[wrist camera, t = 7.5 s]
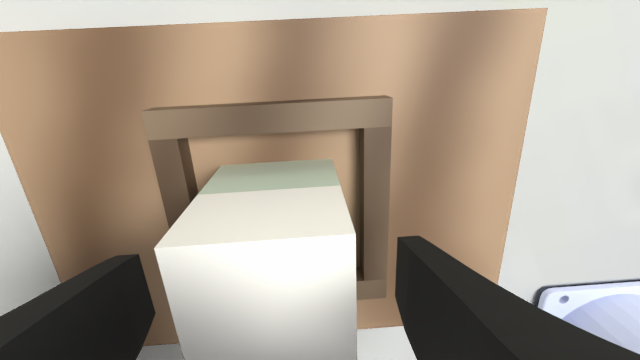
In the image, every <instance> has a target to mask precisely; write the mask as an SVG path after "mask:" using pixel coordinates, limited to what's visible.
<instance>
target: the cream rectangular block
mask: <svg viewBox="0 0 640 360" xmlns="http://www.w3.org/2000/svg"><path fill="white" fill-rule="evenodd" d="M154 250H155V254H156V258H157V261H158V265H159V269H160V273H161V276H162V280H163V284H164V287H165V291H166V295H167V298H168V302H169V306H170V310H171V313H172V317H173V321H174V324H175V328H176V332H177V335H178V339H179V343H180V347H181V350H182V354H183V358H184V360H357V300H356V233H355V230H354V227H353V224H352V221H351V218H350V214H349V211H348V208H347V205H346V202H345V198H344V195H343V192H342V189H341V186H340V183H339V179H338V176H337V173H336V170H335V167H334V163H333V160H332V158H331V159H315V160H299V161H283V162H267V163H251V164H235V165H221V166H220V167H219V169H218V170H217V171H216V172H215V174H214V175H213V176H212V177H211V179H210V180H209V181H208V182H207V184H206V185H205V186H204V187H203V188H202V190H201V191H200V192H199V193H198V195H197V196H196V197H195V198H194V200H193V201H192V202H191V203H190V205H189V206H188V207H187V208H186V209H185V211H184V212H183V213H182V214H181V216H180V217H179V218H178V219H177V221H176V222H175V223H174V224H173V226H172V227H171V228H170V229H169V230H168V232H167V233H166V234H165V235H164V237H163V238H162V239H161V240H160V242H159V243H158V244H157V245H156V247H155V248H154Z"/></svg>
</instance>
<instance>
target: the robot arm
mask: <svg viewBox="0 0 640 360" xmlns="http://www.w3.org/2000/svg"><path fill="white" fill-rule="evenodd" d="M395 298H396V302H397V305H398V309H399V313H400V316H401V319H402V323H403V326H404V329H405V332H406V334H407V337H408V339H409V342H410V344H411V346H412V349H413V351H414V353H415V356H416V358H417V360H640V281H638V282H624V283H611V284H598V285H584V286H571V287H557V288H549V289H546V290H544V291H543V292H542V294H541V296H540V300H539V304H538V307H536V306H534V305H533V304H531V303H529V302H527V301H525V300H523V299H521V298H520V297H518V296H516V295H514V294H513V293H511V292H509V291H507V290H506V289H504V288H502V287H500V286H499V285H497V284H495V283H494V282H492V281H490V280H489V279H487V278H485V277H484V276H482V275H480V274H479V273H477V272H475V271H474V270H472V269H471V268H469V267H468V266H466V265H464V264H463V263H461V262H460V261H458V260H457V259H455V258H454V257H452V256H451V255H449V254H448V253H446V252H444V251H443V250H441V249H440V248H438V247H437V246H435V245H434V244H432V243H431V242H429V241H428V240H426V239H424V238H422V237H421V236H404V237H397V259H396V282H395ZM155 314H156V313H155V309H154V306H153V302H152V299H151V295H150V292H149V288H148V285H147V281H146V278H145V274H144V271H143V267H142V264H141V260H140V257H139V254H132V255H117V256H114V257H112V258H109V259H107V260H105V261H103V262H101V263H99V264H97V265H95V266H93V267H91V268H89V269H87V270H85V271H83V272H82V273H80V274H78V275H76V276H74V277H72V278H71V279H69V280H67V281H65V282H63V283H61V284H60V285H58V286H56V287H54V288H52V289H51V290H49V291H47V292H45V293H43V294H41V295H40V296H38V297H36V298H34V299H32V300H31V301H29V302H27V303H25V304H23V305H21V306H19V307H18V308H16V309H14V310H12V311H10V312H8V313H6V314H4V315H2V316H0V360H136V358H137V356H138V354H139V353H140V351H141V349H142V346H143V344H144V342H145V339H146V337H147V334H148V332H149V329H150V327H151V324H152V321H153V319H154V316H155Z"/></svg>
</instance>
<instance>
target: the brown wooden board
mask: <svg viewBox="0 0 640 360" xmlns="http://www.w3.org/2000/svg"><path fill="white" fill-rule="evenodd" d="M547 9H548V8H533V9H511V10H488V11H466V12H444V13H421V14H399V15H377V16H354V17H332V18H309V19H287V20H265V21H242V22H220V23H198V24H175V25H153V26H130V27H108V28H86V29H63V30H41V31H19V32H0V132H1V135H2V137H3V140H4V142H5V145H6V147H7V150H8V152H9V155H10V157H11V160H12V162H13V165H14V167H15V169H16V172H17V174H18V177H19V179H20V182H21V184H22V187H23V189H24V192H25V194H26V197H27V199H28V202H29V204H30V207H31V209H32V212H33V214H34V217H35V219H36V222H37V224H38V227H39V229H40V232H41V234H42V237H43V239H44V242H45V244H46V247H47V249H48V252H49V254H50V256H51V259H52V261H53V264H54V266H55V269H56V271H57V274H58V276H59V279H60V281H61V283H63V282H65V281H67V280H69V279H71V278H72V277H74V276H76V275H78V274H80V273H82V272H83V271H85V270H87V269H89V268H91V267H93V266H95V265H97V264H99V263H101V262H103V261H105V260H107V259H109V258H112V257H114V256H117V255H132V254H139V257H140V260H141V264H142V267H143V271H144V274H145V278H146V281H147V285H148V288H149V292H150V295H151V299H152V302H153V306H154V309H155V313H156V314H155V316H154V319H153V321H152V324H151V327H150V329H149V332H148V334H147V337H146V339H145V342H144V344H143V346H150V345H162V344H175V343H179V339H178V335H177V332H176V328H175V324H174V321H173V317H172V313H171V310H170V306H169V302H168V298H167V295H166V291H165V287H164V284H163V280H162V276H161V273H160V269H159V265H158V261H157V258H156V254H155V250H154V248H155V247H156V245H157V244H158V243H159V242H160V240H161V239H162V238H163V237H164V235H165V234H166V233H167V232H168V230H169V229H170V228H171V227H172V226H173V224H174V223H175V222H176V221H177V219H178V218H179V217H180V216H181V214H182V213H183V212H184V211H185V209H186V208H187V207H188V206H189V205H190V203H191V202H192V201H193V200H194V198H195V197H196V196H197V195H198V193H199V192H200V191H201V190H202V188H203V187H204V186H205V185H206V184H207V182H208V181H209V180H210V179H211V177H212V176H213V175H214V174H215V172H216V171H217V170H218V169H219V167H220V166H221V165H235V164H251V163H267V162H283V161H299V160H315V159H331V158H332V160H333V163H334V167H335V170H336V173H337V176H338V179H339V183H340V186H341V189H342V192H343V195H344V198H345V202H346V205H347V208H348V211H349V214H350V218H351V221H352V224H353V227H354V230H355V233H356V300H357V329H368V328H381V327H394V326H403V323H402V319H401V316H400V313H399V309H398V305H397V302H396V298H395V282H396V259H397V237H404V236H421V237H422V238H424V239H426V240H428V241H429V242H431V243H432V244H434V245H435V246H437V247H438V248H440V249H441V250H443V251H444V252H446V253H448V254H449V255H451V256H452V257H454V258H455V259H457V260H458V261H460V262H461V263H463V264H464V265H466V266H468V267H469V268H471V269H472V270H474V271H475V272H477V273H479V274H480V275H482V276H484V277H485V278H487V279H489V280H490V281H492V282H494V283H495V284H497V285H498V279H499V274H500V268H501V263H502V257H503V252H504V246H505V241H506V235H507V230H508V224H509V219H510V213H511V208H512V202H513V197H514V191H515V186H516V180H517V175H518V169H519V163H520V158H521V152H522V147H523V141H524V136H525V130H526V125H527V119H528V114H529V108H530V103H531V97H532V92H533V86H534V81H535V75H536V70H537V64H538V59H539V53H540V48H541V42H542V37H543V31H544V26H545V20H546V15H547Z"/></svg>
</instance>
